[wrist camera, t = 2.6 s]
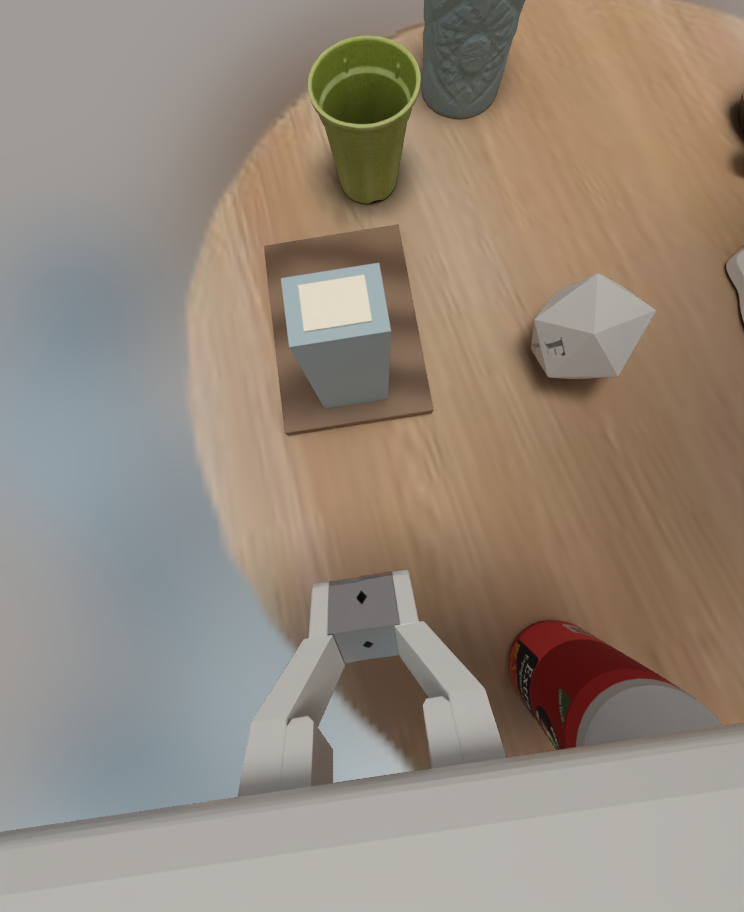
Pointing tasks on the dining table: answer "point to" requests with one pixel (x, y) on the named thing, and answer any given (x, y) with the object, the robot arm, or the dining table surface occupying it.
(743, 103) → the spread jar
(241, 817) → the robot arm
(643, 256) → the dining table surface
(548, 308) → the die
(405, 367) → the board
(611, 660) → the canned food
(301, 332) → the light blue box
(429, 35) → the blue-grey cup
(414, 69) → the plant pot
